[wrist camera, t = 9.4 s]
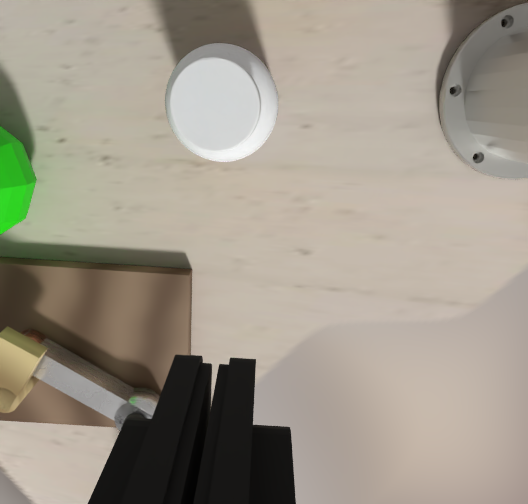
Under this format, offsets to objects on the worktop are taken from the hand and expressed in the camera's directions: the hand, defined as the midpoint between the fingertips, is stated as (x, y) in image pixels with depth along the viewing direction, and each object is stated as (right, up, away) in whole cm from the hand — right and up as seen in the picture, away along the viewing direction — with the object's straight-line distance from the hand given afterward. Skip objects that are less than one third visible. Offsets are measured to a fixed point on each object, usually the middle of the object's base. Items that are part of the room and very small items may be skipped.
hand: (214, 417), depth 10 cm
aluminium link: (-14, -8, +31) cm, 35 cm away
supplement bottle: (-1, +15, +26) cm, 30 cm away
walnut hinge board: (-15, -5, +33) cm, 36 cm away
